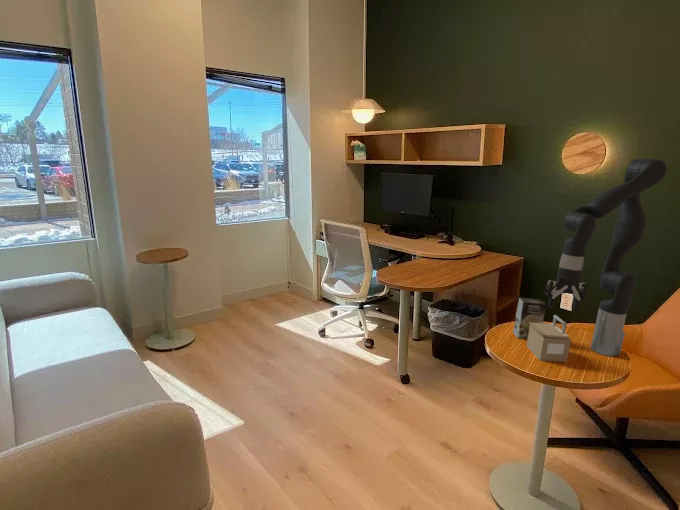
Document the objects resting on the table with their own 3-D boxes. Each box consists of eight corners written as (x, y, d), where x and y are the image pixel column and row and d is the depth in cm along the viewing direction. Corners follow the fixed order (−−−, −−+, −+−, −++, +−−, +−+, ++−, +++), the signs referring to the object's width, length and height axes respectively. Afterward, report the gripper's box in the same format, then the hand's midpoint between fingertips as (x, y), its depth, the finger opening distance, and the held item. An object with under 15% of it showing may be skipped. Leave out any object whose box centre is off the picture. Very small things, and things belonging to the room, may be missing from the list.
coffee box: (517, 338, 174) (523, 302, 170) (512, 332, 180) (518, 297, 176) (539, 340, 173) (546, 304, 169) (534, 334, 179) (540, 299, 175)
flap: (552, 325, 164) (555, 313, 163) (568, 338, 153) (571, 325, 152) (528, 324, 165) (531, 311, 163) (542, 337, 153) (545, 323, 152)
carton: (551, 347, 167) (555, 326, 165) (566, 362, 155) (571, 339, 153) (526, 346, 167) (530, 325, 165) (539, 360, 155) (544, 338, 153)
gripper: (584, 265, 156) (575, 306, 160) (546, 262, 156) (539, 303, 160) (595, 270, 149) (586, 313, 153) (556, 267, 149) (548, 310, 153)
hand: (562, 308), depth 156 cm, fingers open, 8 cm apart
